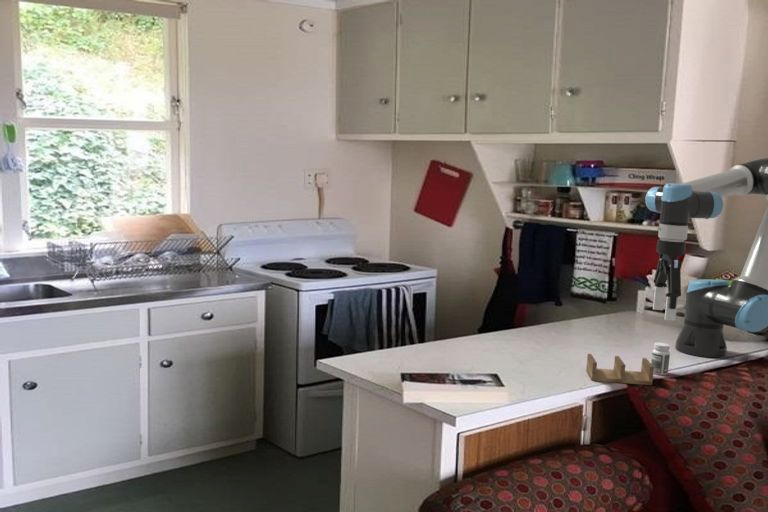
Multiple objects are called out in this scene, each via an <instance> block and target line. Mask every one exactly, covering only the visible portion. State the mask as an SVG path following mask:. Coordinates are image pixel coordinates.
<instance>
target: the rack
mask: <svg viewBox="0 0 768 512" xmlns="http://www.w3.org/2000/svg"><path fill="white" fill-rule="evenodd" d="M613 363H614V364H613V369H611V368H610V369H609V368H597V367H598V362H597V361H596V359H595V357H594V356H593V354H591V353H587V357H586V369H585V371H586V373H587V375H588V377H589V379H590V381H592V382H593V381H594V382H603V383H619V384H628V385H629V384H631V385H645V386H653V382H654V381H653V380H654V373H653V372H654V367H653V365H652V364H651V362H650V361H649V360H648V359H647V358H646V357H642V358H641V368H640V371H635V370H626V363H624V361H623V359H622V358H621V357H620V356H619V355H615V356H614V362H613Z"/></svg>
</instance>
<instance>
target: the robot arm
mask: <svg viewBox="0 0 768 512" xmlns="http://www.w3.org/2000/svg"><path fill="white" fill-rule="evenodd" d="M735 195H737V196H745V195H746V196H747V195H764V196H765V199H766V201H767V202H768V157H767V158H766V157H764V158H758V159H755V160H750V161H747V162H743V163H740V164H736V165H734V166H732V167H731V168H730V169H729V170H726V171H722V172H718V173H716V174H711V175H708V176H704V177H701V178H697V179H694V180H690V181H686V182H682V183H665V184H664V186H653V187H651V188H650V189H649V190H648V191H647V192H646V194H645V198H644V200H645V205H646V208H647V209H648V210H649V211H651V212H654V213H655V212H656V213H658V214H660V216H659V224H658V226H657V227H656V230H657V231H658V235H657V237H658V238H659V239H657V242H656V249H655V250H656V253H658V262H657V266H656V269H655V275H654V279H653V283H654V286H655V287H654V296H653V304H652V310H654V311H655V310H656V311H664V305H665V312H664V320H665V321H673V322H674V321H676V317H677V312H678V311H677V310H678V301H679V297H681V295H682V284H681V279H682V278H681V268H682V260H678V256H683V255H685V254H686V246H687V242H686V240H687V239H688V229H689V221H690V219H703V220H704V219H706V220H708V219H716V218H717V217H719V215H721V213H722V212H723V208H724V200H723V199H724V198H726V197H730V196H735ZM747 255H748V256H747V258H746V260H745V263H744V266H743V269H742V271H741V274H740V276H738V277H736V278H733V279H732V282H731V283H729V281H728V280H726V279H708V278H705V279H704V278H703V279H702V278H701V279H699V278H698V279H693V280H691V281H690V282H688V286H687V291H686V298H685V309H684V319H683V325H682V327H681V330H680V332H679V334H678V336H677V338H676V339H675V347H674V348H675V350H676V351H679V352H681V353H684V354H688V355H690V356H696V357H705V358H723V357H725V355H726V356H727V351H728V345H727V341H726V337H725V333H724V326H727V327H730V328H735V329H737V330H740V331H742V332H745V331H746V332H750V333H757V332H760V331H762V330H765V329H766V328H767V327H768V205H767V206H766V209H765V212H764V215H763V217H762V219H761V223H760V225H759V226H758V230H757V232H756V235H755V238H754V239H753V242H752V244H751V248H750V250H749V252H748V254H747ZM666 288H667V293H666ZM665 298H666V303H665Z"/></svg>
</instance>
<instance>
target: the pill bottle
mask: <svg viewBox="0 0 768 512" xmlns="http://www.w3.org/2000/svg"><path fill="white" fill-rule="evenodd" d="M653 348H654V349H652V351H651V362H650V363H651V364H652V365H653V367H654V372H653V375H657V376H658V375H659V376H666V375H668V373H669V366H670V355H671V353H670V351H669V350H670V345H669V344H668V343H665V342H654V345H653Z"/></svg>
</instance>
